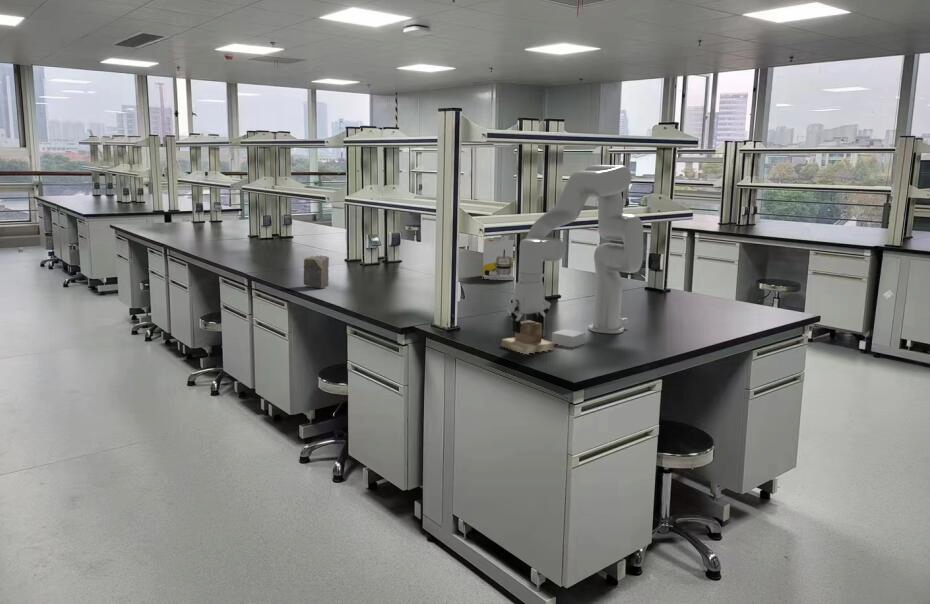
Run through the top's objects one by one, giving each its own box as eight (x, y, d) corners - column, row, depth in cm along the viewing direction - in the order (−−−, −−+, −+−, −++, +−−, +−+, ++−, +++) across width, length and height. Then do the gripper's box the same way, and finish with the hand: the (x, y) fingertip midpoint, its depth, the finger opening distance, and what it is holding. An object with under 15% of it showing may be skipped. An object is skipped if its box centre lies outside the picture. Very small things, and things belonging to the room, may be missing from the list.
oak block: (529, 343, 236) (530, 335, 235) (553, 351, 226) (554, 342, 226) (501, 348, 229) (501, 339, 229) (524, 356, 220) (525, 347, 219)
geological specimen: (303, 287, 331) (302, 255, 328) (312, 285, 336) (311, 254, 333) (321, 289, 326) (320, 257, 323) (329, 287, 331) (329, 256, 328)
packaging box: (482, 280, 365) (483, 231, 361) (482, 275, 381) (484, 229, 377) (513, 280, 365) (515, 232, 360) (513, 276, 381) (514, 230, 376)
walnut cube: (528, 337, 231) (529, 320, 230) (541, 341, 227) (542, 323, 226) (515, 340, 228) (515, 322, 227) (527, 344, 223) (528, 325, 222)
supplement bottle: (542, 333, 248) (544, 300, 246) (545, 338, 241) (546, 304, 239) (523, 333, 248) (524, 300, 246) (525, 338, 241) (526, 303, 239)
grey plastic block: (563, 340, 241) (563, 328, 240) (584, 344, 236) (584, 332, 235) (551, 344, 234) (552, 332, 234) (572, 348, 230) (573, 336, 229)
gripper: (543, 274, 231) (540, 325, 235) (501, 278, 222) (499, 331, 225) (558, 277, 225) (556, 330, 229) (516, 281, 216) (514, 336, 219)
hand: (528, 330), depth 227 cm, fingers open, 9 cm apart
